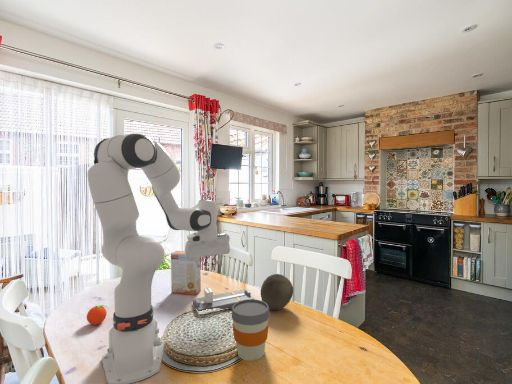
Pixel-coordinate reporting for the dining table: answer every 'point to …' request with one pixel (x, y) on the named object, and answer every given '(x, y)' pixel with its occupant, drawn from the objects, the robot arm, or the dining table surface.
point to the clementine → (96, 314)
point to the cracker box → (184, 274)
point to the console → (222, 300)
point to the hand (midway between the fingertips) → (208, 265)
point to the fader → (208, 295)
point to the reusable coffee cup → (250, 328)
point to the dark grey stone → (276, 291)
